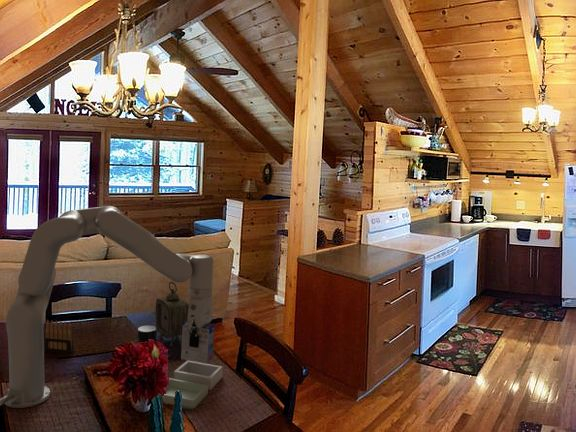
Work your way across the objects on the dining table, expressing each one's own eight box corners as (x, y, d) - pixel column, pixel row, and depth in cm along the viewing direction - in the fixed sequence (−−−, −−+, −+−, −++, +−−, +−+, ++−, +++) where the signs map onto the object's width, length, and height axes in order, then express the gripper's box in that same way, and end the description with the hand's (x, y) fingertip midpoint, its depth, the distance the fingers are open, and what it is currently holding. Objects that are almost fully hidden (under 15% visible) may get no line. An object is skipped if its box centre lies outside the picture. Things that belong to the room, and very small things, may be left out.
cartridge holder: (210, 389, 161) (211, 378, 160) (173, 382, 164) (173, 371, 164) (222, 377, 170) (222, 366, 169) (187, 370, 173) (187, 360, 173)
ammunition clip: (44, 350, 184) (43, 320, 182) (47, 348, 186) (46, 318, 184) (70, 353, 183) (70, 322, 181) (73, 351, 185) (73, 321, 183)
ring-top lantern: (155, 337, 202) (156, 279, 199) (175, 333, 208) (176, 276, 204) (169, 349, 191) (170, 287, 188) (190, 345, 196) (192, 285, 193)
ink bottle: (133, 355, 184) (133, 325, 182) (156, 352, 187) (157, 322, 186) (136, 366, 175) (136, 334, 173) (161, 363, 179) (161, 331, 177)
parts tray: (193, 409, 148) (193, 400, 147) (151, 401, 151) (151, 392, 151) (207, 394, 158) (208, 385, 157) (168, 386, 161) (168, 377, 161)
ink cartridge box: (213, 357, 167) (215, 317, 166) (207, 364, 162) (210, 322, 160) (187, 353, 169) (188, 313, 168) (180, 359, 164) (182, 318, 162)
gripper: (199, 300, 154) (196, 354, 156) (221, 287, 170) (218, 336, 172) (178, 296, 156) (175, 350, 158) (201, 284, 172) (199, 333, 174)
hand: (198, 343), depth 165 cm, fingers closed on ink cartridge box, 5 cm apart
